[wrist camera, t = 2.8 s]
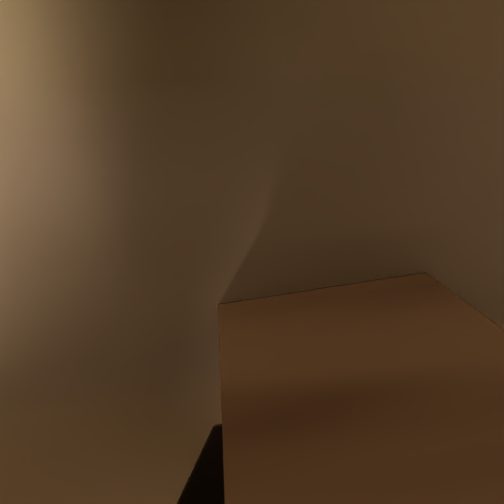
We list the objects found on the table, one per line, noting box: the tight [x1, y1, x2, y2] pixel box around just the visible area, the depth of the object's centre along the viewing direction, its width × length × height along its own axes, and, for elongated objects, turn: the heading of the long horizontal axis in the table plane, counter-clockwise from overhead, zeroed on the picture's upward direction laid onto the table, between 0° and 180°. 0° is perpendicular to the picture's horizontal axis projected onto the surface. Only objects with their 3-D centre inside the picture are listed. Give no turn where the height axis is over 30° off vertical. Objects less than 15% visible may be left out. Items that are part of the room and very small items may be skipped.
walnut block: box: [218, 273, 504, 504], centre depth 6 cm, size 4×4×6 cm
